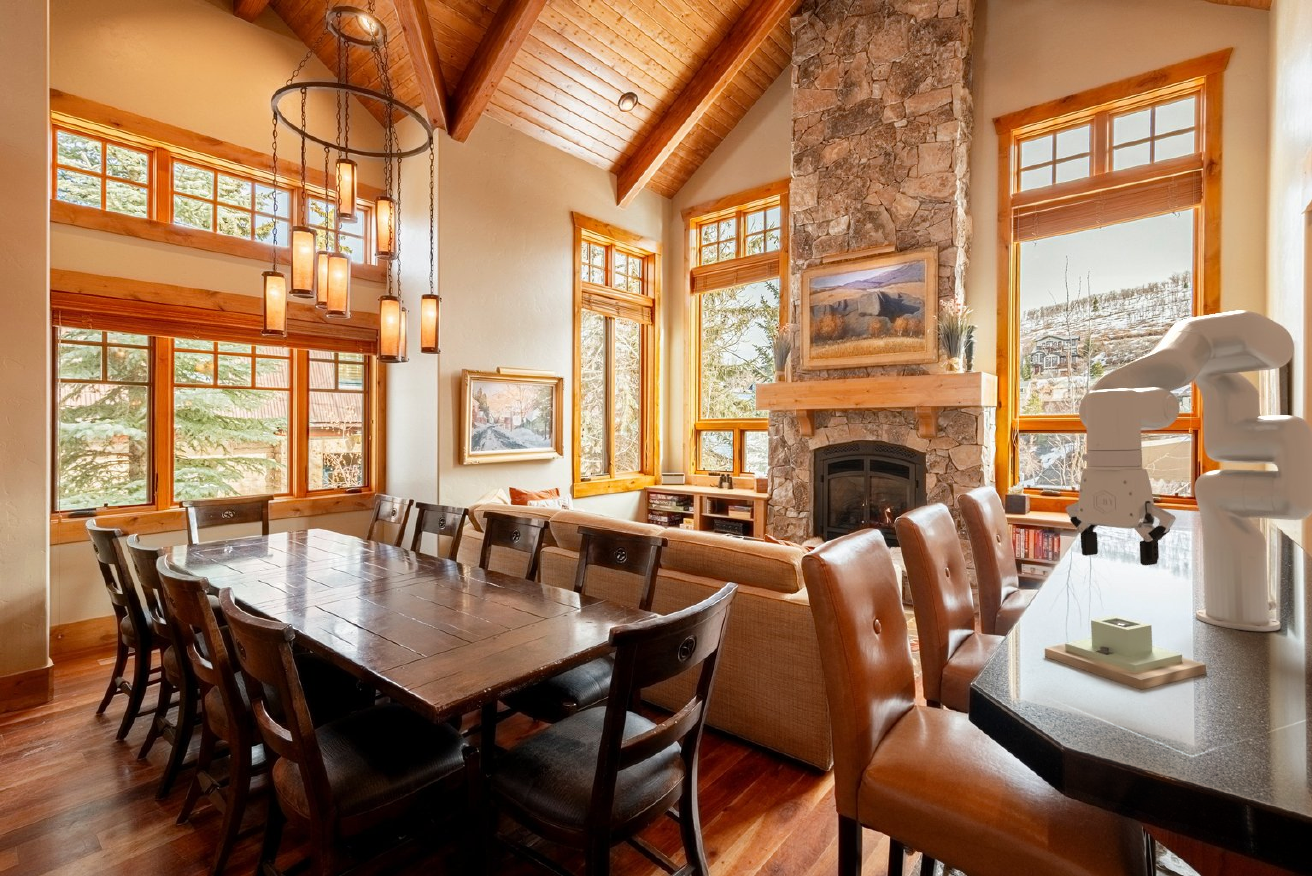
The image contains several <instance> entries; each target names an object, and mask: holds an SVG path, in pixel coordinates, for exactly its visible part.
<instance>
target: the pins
mask: <svg viewBox="0 0 1312 876" xmlns="http://www.w3.org/2000/svg"><path fill="white" fill-rule="evenodd" d="M1110 624H1114V625H1118V626H1122V627H1130V626H1132V625H1131V624H1129V623H1125V622H1119V621H1112V622H1110ZM1100 653H1102V654H1105V655H1109V648H1108V647H1103V646H1101V647H1100Z"/></svg>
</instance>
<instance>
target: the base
mask: <svg viewBox="0 0 1312 876" xmlns="http://www.w3.org/2000/svg"><path fill="white" fill-rule="evenodd" d="M1044 657H1046V658H1048V659H1051V660H1054V661H1057V662H1060V663H1063V664H1066V665H1069V666H1072V667H1073V668H1078V669H1080V670H1083V671H1087V672H1089V673H1092V674H1096V675H1098V676H1101V677H1103V678H1107V679H1110V680H1113V681H1116V682H1118V683H1122V684H1124V685H1127V686H1130V687H1133V688H1136V689H1139V690H1145V689H1149V688H1153V687H1156V686H1157V687H1158V686H1161V685H1165V684H1170V683H1172V682H1177V681H1181V680H1185V679H1188V678H1193V677H1197V676H1201V675H1205V674H1207V663H1203V662H1201V661H1200V662H1199V661H1196V660H1193V659H1190V658H1185V657H1183V656H1182V662H1179V663H1175V664H1170V665H1166V666H1162V667H1158V668H1153V669H1149V670H1145V671H1141V672H1136V673H1135V672H1132V671H1129V670H1126V669H1123V668H1120V667H1116V666H1113V665H1110V664H1107V663H1104V662H1101V661H1098V660H1095V659H1092V658H1088V657H1085V656H1082V655H1079V654H1076V653H1073V652H1070V651H1067V650H1065V643H1063V644H1059V645H1052V646H1049V647H1048V646H1047V647H1044Z"/></svg>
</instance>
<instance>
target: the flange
mask: <svg viewBox="0 0 1312 876" xmlns="http://www.w3.org/2000/svg"><path fill="white" fill-rule="evenodd" d="M1112 621H1119V622H1125V623H1129V624H1131V625H1132V626H1130V627H1122V626H1118V625H1114V624H1110V622H1112ZM1090 625H1091V627H1090V628H1091V637H1090V638H1084V639H1081V640H1076V641H1071V642H1066V643H1064V644H1065V650H1067V651H1070V652H1073V653H1076V654H1079V655H1082V656H1085V657H1088V658H1092V659H1095V660H1098V661H1101V662H1104V663H1107V664H1110V665H1113V666H1116V667H1120V668H1123V669H1126V670H1129V671H1132V672H1135V673H1136V672H1141V671H1145V670H1149V669H1153V668H1158V667H1162V666H1166V665H1170V664H1175V663H1179V662H1182V657H1183V654H1182V653H1178V652H1174V651H1171V650H1167V649H1163V648H1160V647H1156V646H1153V633H1152V632H1153V630H1152V624H1150V623H1149V624H1148V623H1145V622H1141V621H1136V620H1132V619H1128V618H1124V617H1121V616H1116V615H1113V616H1107V617H1102V618H1098V619H1092V620H1090ZM1101 646H1103V647H1108V648H1109V655H1105V654H1102V653H1100V647H1101Z"/></svg>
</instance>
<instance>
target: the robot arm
mask: <svg viewBox="0 0 1312 876" xmlns="http://www.w3.org/2000/svg"><path fill="white" fill-rule="evenodd" d="M1294 351H1295V344H1294V340H1293V337H1292V335H1291V333H1290V332H1289V331H1288V329H1287V328H1285V326H1283V325H1281V324H1280V323H1278V322H1276V321H1274V320H1272V319H1270V318H1269V317H1267V316H1265V315H1262V314H1260V313H1258V312H1254V311H1250V310H1235V311H1233V310H1232V311H1228V312H1222V313H1215V314H1214V313H1213V314H1209V315H1203V316H1196V317H1189V318H1187V319H1183V320H1180V321H1178V322H1176V323H1174V324H1173V325H1171V326H1170V328H1169V329H1168V330H1167V331H1166V332H1165V333H1164V334H1163V335H1162V337H1161V338H1160V339H1159V340H1158V341H1157V343H1156V344H1155V345H1154V346H1153V348H1151V349H1150V351H1149V352H1148V353H1147V354H1146V355H1144V356H1142V357H1140V358H1137V359H1134V360H1133V361H1130V362H1129V363H1127V364H1124V365H1123V366H1120V367H1118V368H1115V369H1113V370H1112V371H1110V372H1108V373H1106V374H1104V375H1102V376H1101V377H1100V378H1099V379H1098V380H1096V381H1095V383H1093V384H1092V386H1091V387H1090V388H1089V389H1088V390H1087V392H1086V393H1085V394H1084V396H1083V398H1082V399H1081V401H1080V404H1079V408H1078V416H1079V420H1080V421H1081V424H1082V425H1083V426H1084V427H1085V428H1086V440H1087V441H1086V442H1087V443H1086V444H1087V445H1086V447H1087V450H1086V452H1087V453H1083V454H1082V456H1081V459H1082V461H1083V462H1087V467H1086V468H1083V469H1082V473H1081V477H1080V483H1079V488H1078V489H1079V491H1078V501H1076V502H1074V503H1071V504H1069V505H1067V506H1066V507H1065V511H1066V514H1067V515H1068V517H1069V518H1070V522H1071V524H1072V525H1073V526H1074V527H1075V528H1076V531H1077V533H1078V534H1079V533H1080V547H1081V554H1082V556H1085V557H1086V556H1093V555H1094V556H1095V555H1097V554H1098V553H1099V550H1098V549H1099V547H1098V546H1099V545H1098V544H1099V543H1098V534H1097V531H1094V530H1095V529H1096V528H1097V527H1098V526H1099V527H1108V528H1109V527H1110V528H1118V529H1125V530H1127V529H1128V530H1131V529H1134V530H1135V531H1136V532H1137V534H1138V535H1139V536H1140V537H1141V538H1142V539H1143V540H1140V541H1139V558H1140V559H1139V561H1140V565H1142V566H1151V565H1152V566H1153V565H1157V564H1158V560H1159V559H1160V558H1159V556H1160V555H1159V541H1162V539H1163V537H1165V536H1166V535H1167V534H1168V533H1170V531H1171V528H1172V527H1173V525H1174V524H1175V521H1176V516H1175V515H1174V514H1172V513H1170V512H1168V511H1166V510H1164V509H1163V508H1161V507H1159V506H1157V505H1155V502H1154V495H1153V488H1152V485H1151V480H1150V477H1149V474H1148V471H1147V468H1143V453H1142V452H1143V450H1142V445H1143V444H1142V431H1156V430H1161V429H1165V428H1167V427H1170V426H1171V425H1172V424H1174V423H1175V421H1177V419H1178V417H1179V414H1180V403H1179V399H1178V398H1177V396H1175V394H1174V393H1173V391H1176V390H1179V389H1181V388H1184V387H1186V386H1188V385H1189V384H1190V383H1192V382H1193V383H1194V384H1195V385H1196V387H1197V389H1198V390H1199V392H1200V394H1201V395H1200V396H1201V397H1202V407H1203V410H1202V411H1203V413H1202V415H1203V417H1202V418H1203V446H1204V451H1205V454H1206V456H1207V457H1208V458H1209V459H1211V460H1212V461H1214V462H1219V463H1228V464H1231V463H1232V464H1273V465H1275V466H1276V467H1277V470H1254V469H1216V470H1210V471H1207V472H1204V473H1202V474H1201V475H1200V476H1198V478H1197V479H1196V481H1195V484H1194V495H1195V499H1196V504H1197V507H1198V511H1199V512H1198V513H1199V516H1200V522H1201V532H1202V534H1201V535H1202V551H1203V552H1202V554H1203V555H1202V557H1203V560H1202V561H1203V584H1204V585H1203V586H1204V608H1203V609H1199V610H1196V611H1195V618H1196V619H1198V620H1199V621H1201V622H1203V623H1206V624H1208V625H1212V626H1216V627H1220V628H1221V627H1222V628H1226V629H1231V630H1240V631H1247V632H1248V631H1249V632H1273V631H1278V630H1280V629H1281V622H1280V621H1279V620H1277V619H1276V618H1273V617H1270V612H1269V611H1273V610H1276V609H1277V607H1278V606H1277V603H1276V602H1275V601H1273V600H1271V599H1269V585H1268V583H1269V582H1268V581H1269V580H1268V557H1267V541H1266V537H1265V536H1264V534H1263V531H1261V529H1260V528H1258V526H1257V525H1256V524H1255V523H1254V522H1253V521H1252V520H1251V518H1252V519H1253V518H1258V519H1269V520H1270V519H1273V520H1286V521H1299V520H1304V519H1307V518H1309V517H1310V516H1311V515H1312V428H1311V426H1310V424H1309V423H1308V422H1307V420H1305V419H1304V418H1302V417H1300V416H1296V415H1287V414H1286V415H1283V414H1281V415H1278V414H1277V415H1261V413H1260V412H1261V411H1260V409H1261V408H1260V394H1259V390H1258V389H1257V388H1256V386H1255V385H1254V384H1253V383H1252V382H1251V381H1250V380H1248V379H1247V378H1246V377H1245V376H1244V375H1242V374H1241V373H1248V372H1259V371H1260V372H1261V371H1268V370H1276V369H1280V368H1282V367H1284V366H1286V365H1287V364H1288V363H1289V362H1290V361H1291V359H1292V358H1293V355H1294V353H1295V352H1294ZM1155 518H1157V519H1158V520H1159V522H1158V525H1157V526H1155V525H1154V523H1155Z"/></svg>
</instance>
